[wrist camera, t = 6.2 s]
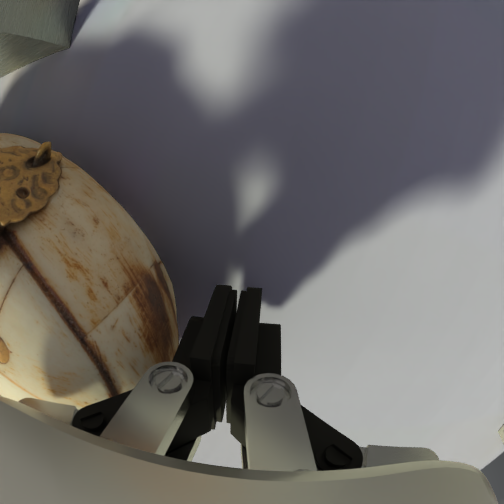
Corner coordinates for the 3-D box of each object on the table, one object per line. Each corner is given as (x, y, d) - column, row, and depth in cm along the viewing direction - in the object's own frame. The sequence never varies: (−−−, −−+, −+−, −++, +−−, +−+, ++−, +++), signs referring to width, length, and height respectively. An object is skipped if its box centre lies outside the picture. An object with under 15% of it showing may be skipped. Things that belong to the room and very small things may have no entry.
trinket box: (201, 376, 15) (166, 506, 7) (14, 329, 15) (-44, 394, 8) (192, 99, 9) (39, 51, 2) (-26, 145, 10) (-120, 177, 3)
